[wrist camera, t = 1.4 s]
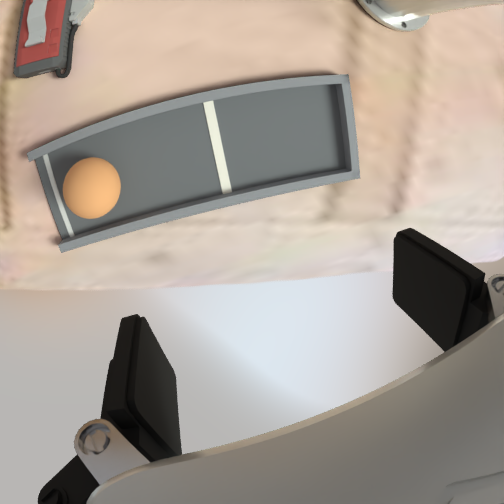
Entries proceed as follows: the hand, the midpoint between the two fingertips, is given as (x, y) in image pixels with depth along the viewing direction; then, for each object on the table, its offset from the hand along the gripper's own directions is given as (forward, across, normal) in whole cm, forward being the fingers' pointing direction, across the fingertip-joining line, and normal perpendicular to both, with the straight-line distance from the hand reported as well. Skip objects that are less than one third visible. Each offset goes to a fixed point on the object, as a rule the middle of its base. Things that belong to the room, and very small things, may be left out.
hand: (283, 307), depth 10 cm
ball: (+21, +12, -4) cm, 24 cm away
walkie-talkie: (+24, +11, -26) cm, 38 cm away
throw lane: (+24, +1, -3) cm, 24 cm away
